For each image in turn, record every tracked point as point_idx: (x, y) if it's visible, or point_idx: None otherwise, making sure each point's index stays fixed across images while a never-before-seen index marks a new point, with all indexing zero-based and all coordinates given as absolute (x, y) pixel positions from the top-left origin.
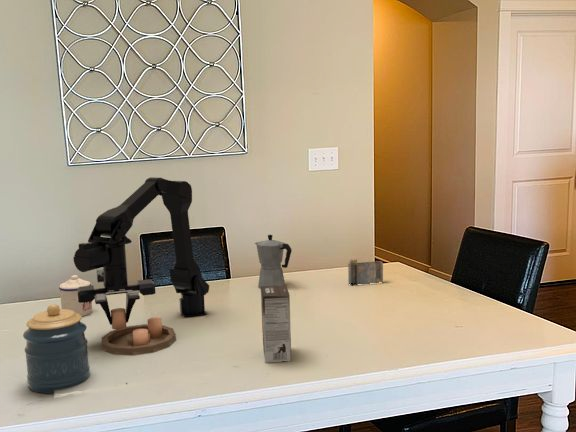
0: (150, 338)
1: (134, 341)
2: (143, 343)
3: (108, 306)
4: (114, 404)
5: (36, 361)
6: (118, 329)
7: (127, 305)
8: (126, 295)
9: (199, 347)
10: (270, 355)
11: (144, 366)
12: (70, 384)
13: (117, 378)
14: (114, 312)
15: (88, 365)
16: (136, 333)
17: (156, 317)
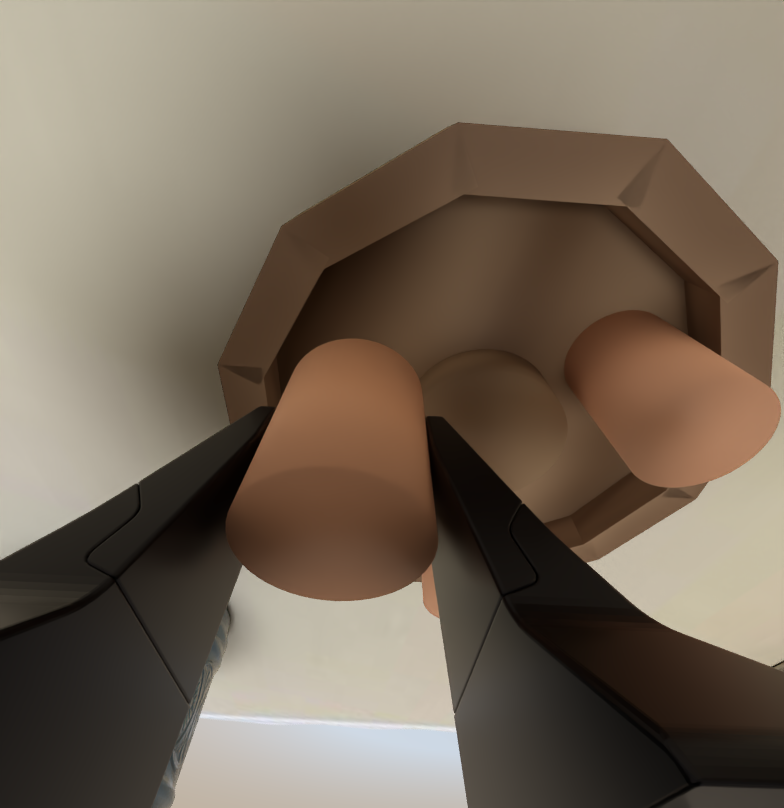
0: (564, 389)
1: None
2: None
3: (175, 737)
4: (310, 709)
5: None
6: (367, 196)
7: (454, 711)
8: (580, 766)
9: (701, 541)
10: None
11: (421, 602)
12: None
13: (322, 635)
14: (284, 588)
15: (213, 669)
16: (438, 617)
17: (762, 391)
